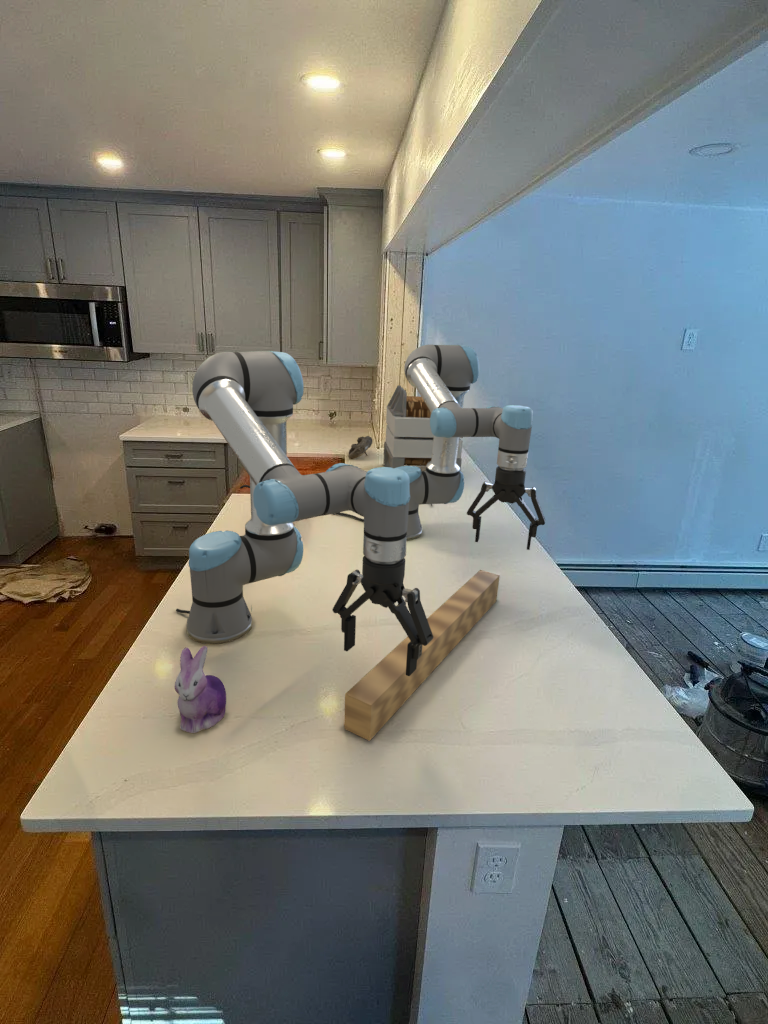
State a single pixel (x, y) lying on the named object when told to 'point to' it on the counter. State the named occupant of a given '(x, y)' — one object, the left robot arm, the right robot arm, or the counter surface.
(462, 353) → the right robot arm
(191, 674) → the figurine
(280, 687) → the counter surface
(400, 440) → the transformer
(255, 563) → the left robot arm
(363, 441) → the fossil
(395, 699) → the beam
